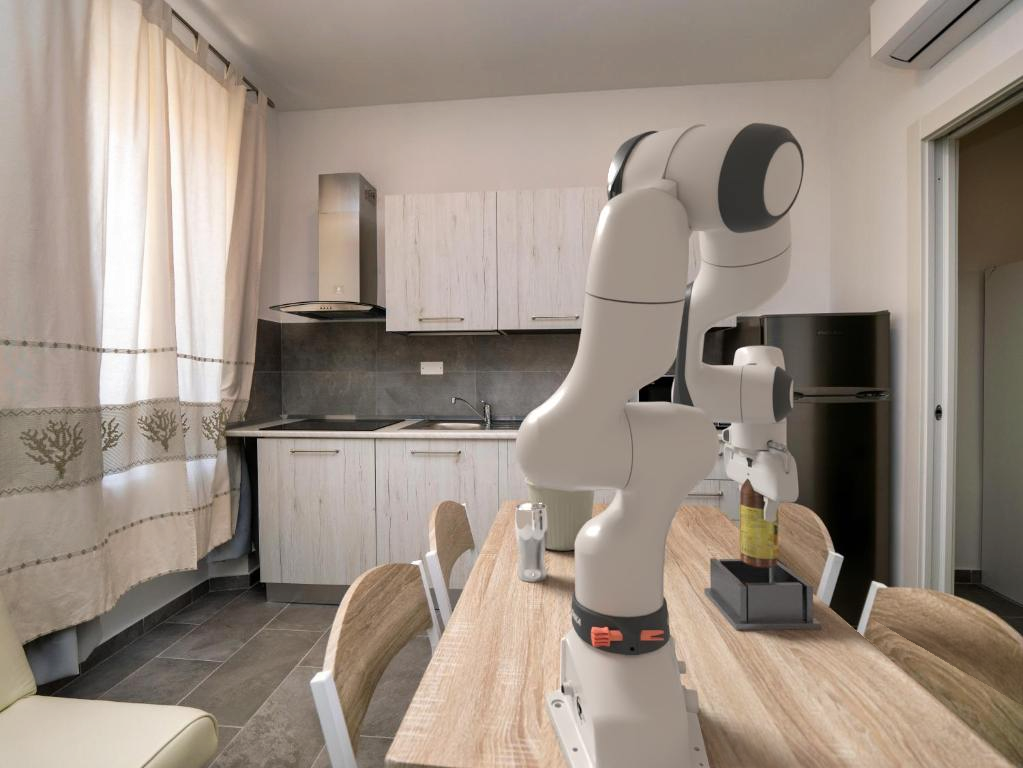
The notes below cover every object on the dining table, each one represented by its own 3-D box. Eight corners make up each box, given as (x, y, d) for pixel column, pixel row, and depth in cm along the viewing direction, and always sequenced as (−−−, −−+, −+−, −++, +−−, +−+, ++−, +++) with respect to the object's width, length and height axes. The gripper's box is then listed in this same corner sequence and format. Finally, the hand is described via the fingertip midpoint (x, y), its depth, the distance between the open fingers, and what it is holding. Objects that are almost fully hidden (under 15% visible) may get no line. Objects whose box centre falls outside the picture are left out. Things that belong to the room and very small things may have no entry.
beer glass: (555, 575, 107) (554, 505, 106) (534, 586, 102) (533, 512, 101) (530, 567, 111) (529, 500, 111) (509, 577, 106) (507, 506, 106)
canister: (603, 557, 117) (602, 467, 117) (526, 557, 118) (524, 467, 117) (592, 532, 135) (591, 454, 135) (525, 533, 136) (524, 455, 135)
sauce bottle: (782, 571, 86) (785, 457, 85) (743, 568, 87) (746, 455, 86) (771, 556, 93) (773, 449, 91) (734, 553, 94) (737, 448, 93)
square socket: (821, 629, 83) (820, 587, 83) (735, 630, 83) (735, 588, 83) (777, 592, 97) (777, 556, 97) (704, 593, 97) (704, 557, 97)
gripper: (809, 445, 79) (809, 533, 79) (750, 430, 99) (750, 499, 100) (769, 446, 79) (769, 533, 79) (718, 430, 99) (718, 500, 100)
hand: (758, 514), depth 90 cm, fingers closed on sauce bottle, 6 cm apart
